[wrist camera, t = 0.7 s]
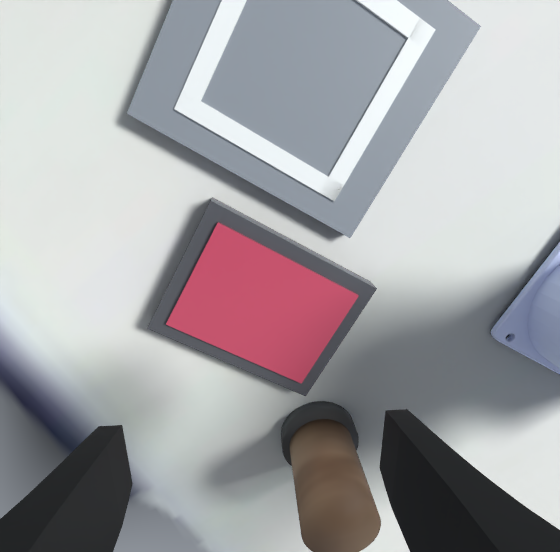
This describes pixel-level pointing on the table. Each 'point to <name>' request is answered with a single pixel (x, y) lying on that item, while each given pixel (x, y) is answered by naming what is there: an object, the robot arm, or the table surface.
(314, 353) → the ink pad
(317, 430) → the stamp
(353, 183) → the board
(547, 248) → the table surface
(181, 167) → the table surface
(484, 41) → the table surface
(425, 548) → the robot arm
